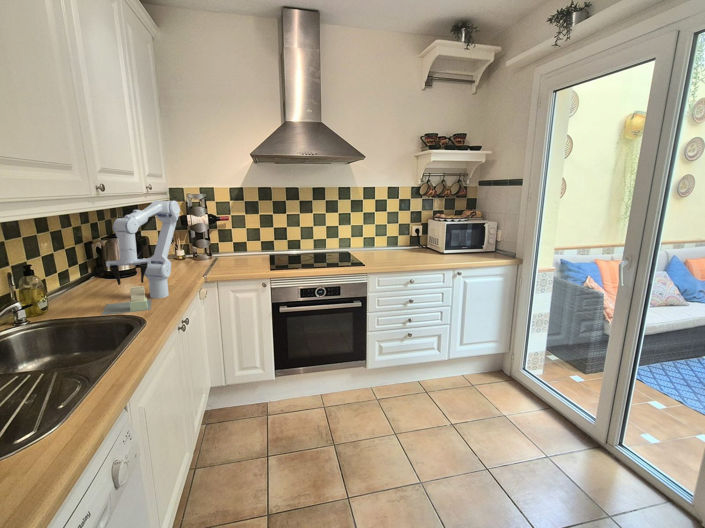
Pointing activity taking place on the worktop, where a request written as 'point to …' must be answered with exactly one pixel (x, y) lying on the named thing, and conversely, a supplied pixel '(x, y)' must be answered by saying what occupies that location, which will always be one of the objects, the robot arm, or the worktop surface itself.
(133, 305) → the base block
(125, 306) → the build plate
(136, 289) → the cream block
